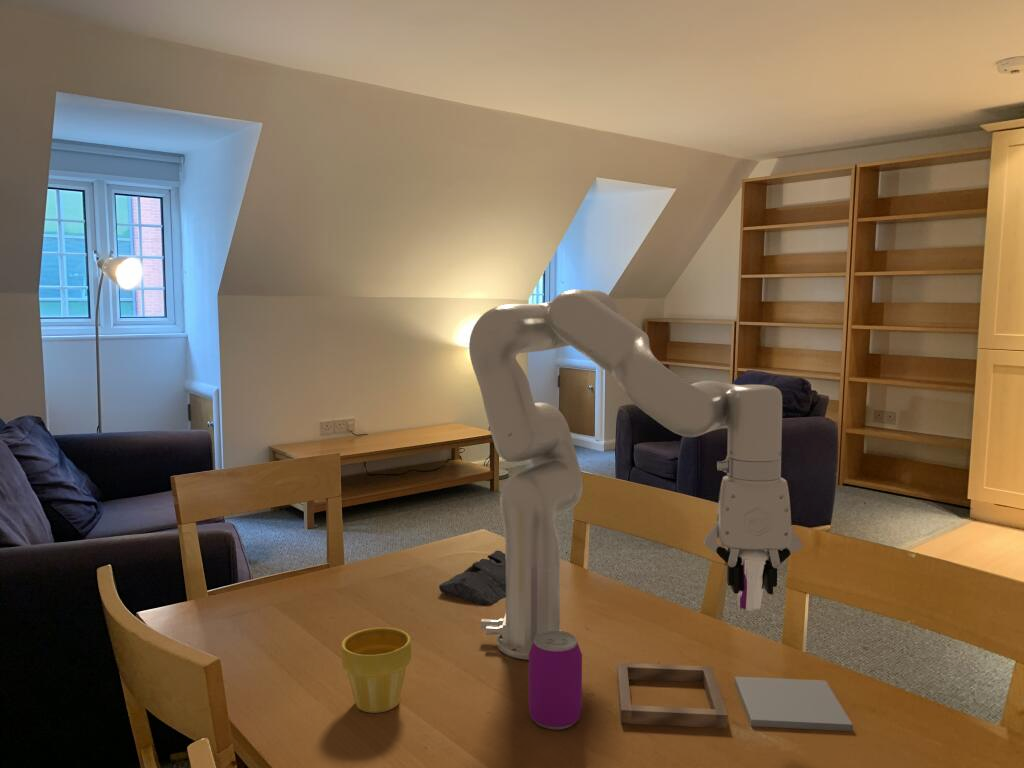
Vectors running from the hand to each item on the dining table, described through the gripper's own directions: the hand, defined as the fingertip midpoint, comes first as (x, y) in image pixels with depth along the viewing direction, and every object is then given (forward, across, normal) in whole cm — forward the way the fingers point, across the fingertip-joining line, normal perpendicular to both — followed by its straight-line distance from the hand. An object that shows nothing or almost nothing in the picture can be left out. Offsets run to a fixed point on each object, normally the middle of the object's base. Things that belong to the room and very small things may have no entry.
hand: (751, 589), depth 117 cm
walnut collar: (+18, -12, 0) cm, 21 cm away
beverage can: (+18, -29, -7) cm, 35 cm away
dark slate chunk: (+18, -47, +46) cm, 68 cm away
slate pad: (+18, +6, 0) cm, 19 cm away
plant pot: (+17, -56, -6) cm, 59 cm away
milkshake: (+3, 0, 0) cm, 3 cm away
